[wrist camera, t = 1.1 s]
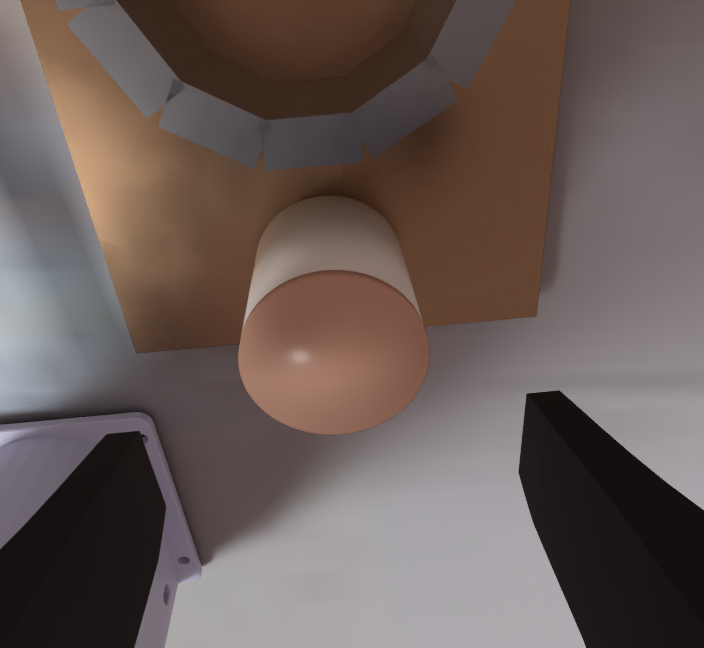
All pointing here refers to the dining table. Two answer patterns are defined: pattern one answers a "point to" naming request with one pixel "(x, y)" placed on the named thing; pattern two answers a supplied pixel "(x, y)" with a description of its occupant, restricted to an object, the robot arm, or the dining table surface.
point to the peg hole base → (306, 142)
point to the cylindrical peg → (331, 320)
